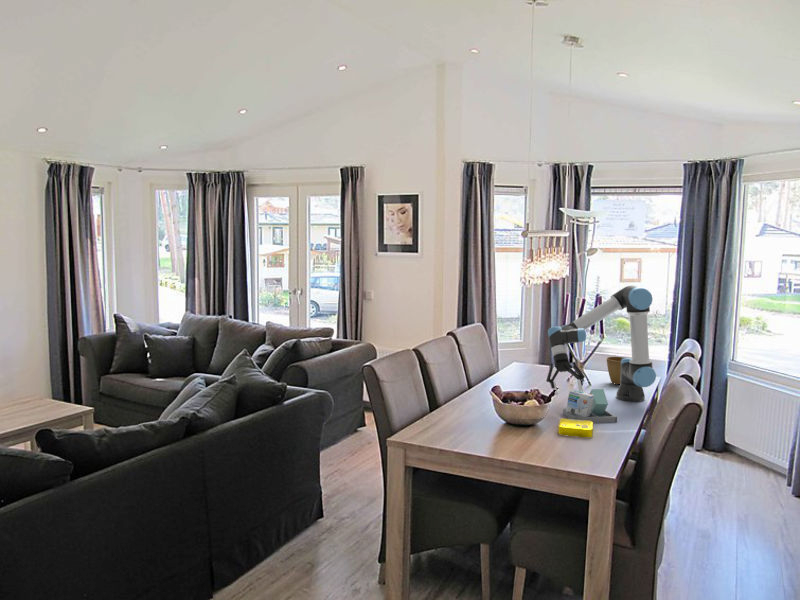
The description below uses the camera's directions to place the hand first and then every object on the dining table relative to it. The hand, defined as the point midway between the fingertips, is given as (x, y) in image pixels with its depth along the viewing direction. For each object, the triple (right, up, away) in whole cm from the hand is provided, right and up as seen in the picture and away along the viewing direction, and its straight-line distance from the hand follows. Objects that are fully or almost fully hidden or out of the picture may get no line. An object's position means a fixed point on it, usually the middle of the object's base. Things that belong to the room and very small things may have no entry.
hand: (568, 393), depth 316 cm
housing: (+6, -11, -13) cm, 18 cm away
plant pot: (+49, -4, +66) cm, 83 cm away
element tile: (-6, -13, -34) cm, 37 cm away
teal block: (+12, -6, -13) cm, 18 cm away
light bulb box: (+1, -8, -13) cm, 15 cm away
